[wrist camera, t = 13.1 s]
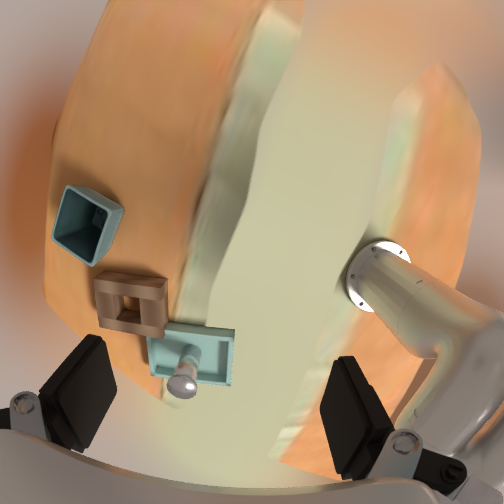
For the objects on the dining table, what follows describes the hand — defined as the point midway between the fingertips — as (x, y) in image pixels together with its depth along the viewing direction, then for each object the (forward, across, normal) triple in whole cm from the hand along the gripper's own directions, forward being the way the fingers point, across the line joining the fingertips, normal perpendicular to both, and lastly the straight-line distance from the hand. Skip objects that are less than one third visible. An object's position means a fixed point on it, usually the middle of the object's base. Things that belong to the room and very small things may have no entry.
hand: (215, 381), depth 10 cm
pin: (+32, +7, +22) cm, 39 cm away
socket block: (+32, +17, +13) cm, 39 cm away
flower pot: (+32, +22, -1) cm, 39 cm away
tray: (+32, +8, +22) cm, 40 cm away
